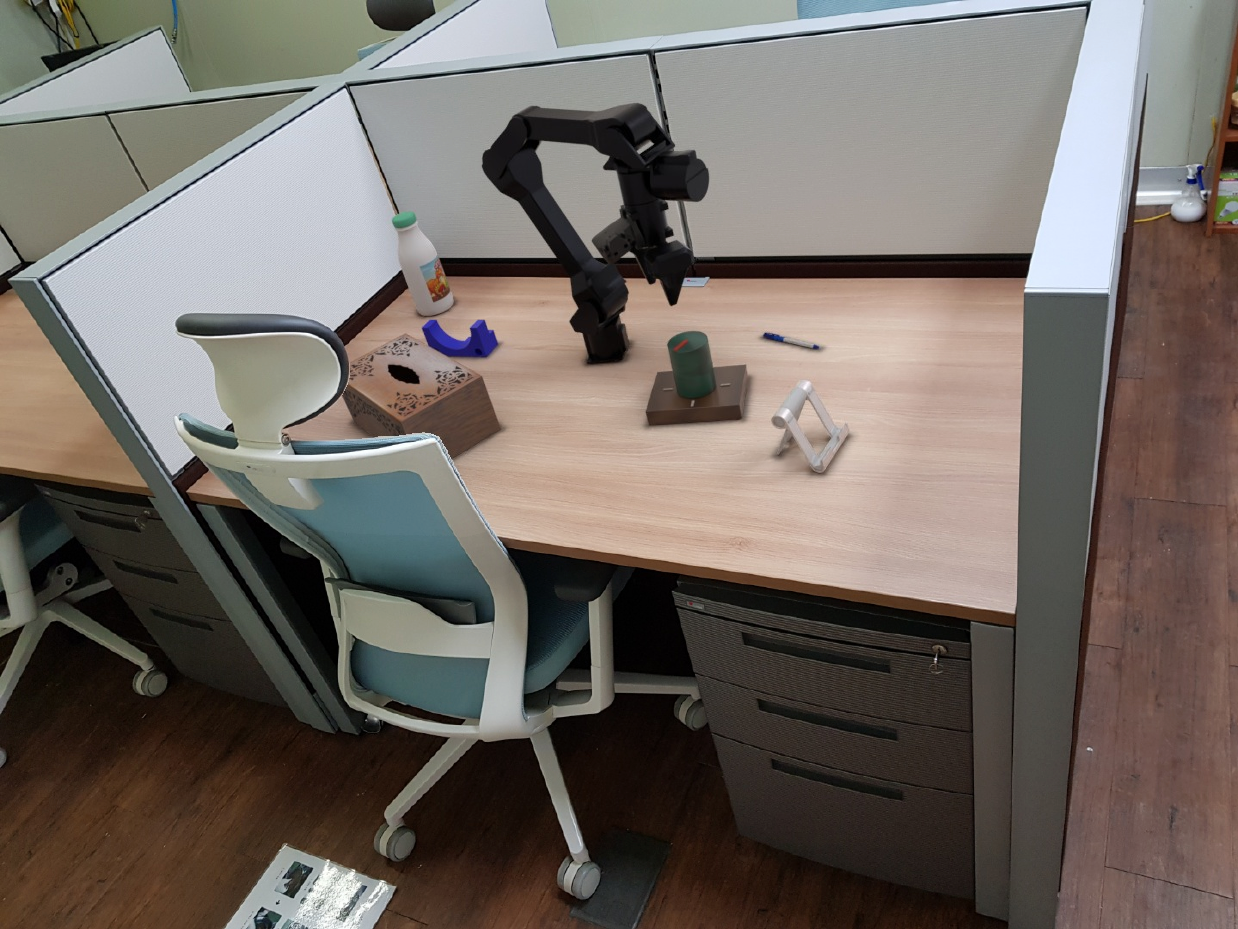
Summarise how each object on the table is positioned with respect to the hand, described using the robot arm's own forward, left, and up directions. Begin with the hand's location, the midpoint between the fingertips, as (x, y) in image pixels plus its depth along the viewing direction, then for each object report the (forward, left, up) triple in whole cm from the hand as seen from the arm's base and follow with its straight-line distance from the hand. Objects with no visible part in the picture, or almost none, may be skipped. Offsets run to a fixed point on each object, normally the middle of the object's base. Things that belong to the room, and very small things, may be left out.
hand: (662, 293), depth 143 cm
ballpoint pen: (+18, +4, -13) cm, 23 cm away
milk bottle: (-55, +31, -13) cm, 65 cm away
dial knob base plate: (+5, -11, -13) cm, 18 cm away
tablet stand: (+22, -25, -13) cm, 36 cm away
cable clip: (-42, +12, -13) cm, 46 cm away
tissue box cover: (-41, -12, -13) cm, 45 cm away
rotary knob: (+5, -11, -10) cm, 16 cm away
